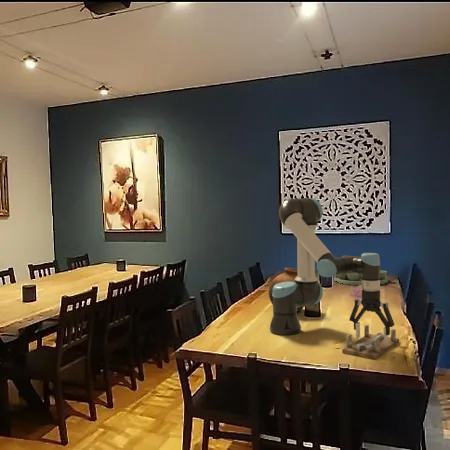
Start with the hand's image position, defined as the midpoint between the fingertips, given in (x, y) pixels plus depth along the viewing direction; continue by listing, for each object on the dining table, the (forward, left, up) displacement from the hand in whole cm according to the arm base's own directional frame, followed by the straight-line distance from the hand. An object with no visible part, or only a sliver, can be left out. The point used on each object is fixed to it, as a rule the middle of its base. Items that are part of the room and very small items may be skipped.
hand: (371, 340), depth 197 cm
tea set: (-68, +147, -4) cm, 162 cm away
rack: (0, 0, -3) cm, 3 cm away
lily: (-41, +79, -3) cm, 89 cm away
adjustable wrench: (0, +1, -2) cm, 2 cm away
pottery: (-63, +36, -3) cm, 73 cm away
